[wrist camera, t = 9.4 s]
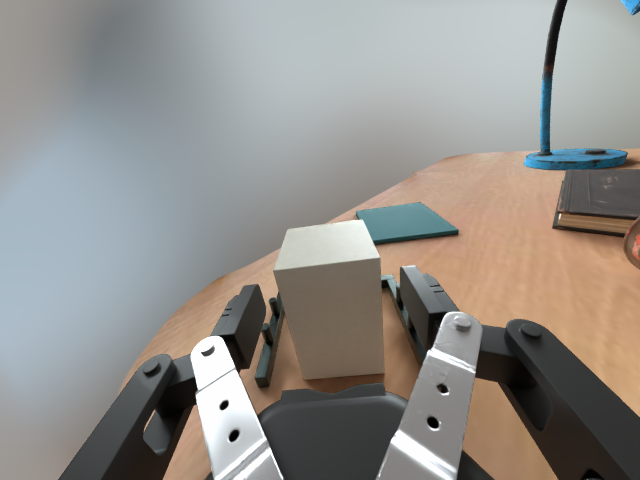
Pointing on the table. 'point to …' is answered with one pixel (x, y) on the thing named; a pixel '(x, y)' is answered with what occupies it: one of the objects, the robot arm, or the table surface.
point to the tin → (633, 243)
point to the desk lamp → (546, 158)
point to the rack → (274, 328)
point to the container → (332, 299)
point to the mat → (404, 223)
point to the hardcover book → (599, 201)
